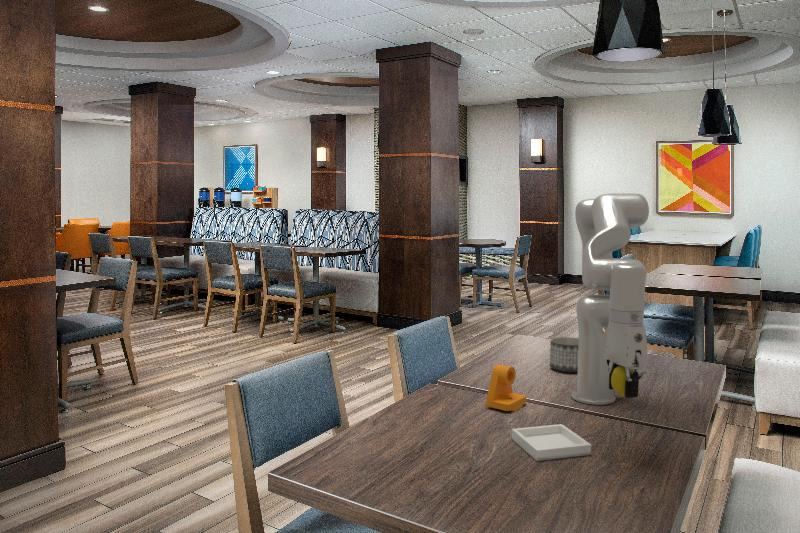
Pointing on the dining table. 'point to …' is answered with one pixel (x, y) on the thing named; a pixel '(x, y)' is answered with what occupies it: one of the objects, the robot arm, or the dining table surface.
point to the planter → (564, 354)
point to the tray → (550, 442)
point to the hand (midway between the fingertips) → (623, 392)
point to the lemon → (619, 380)
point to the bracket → (504, 390)
